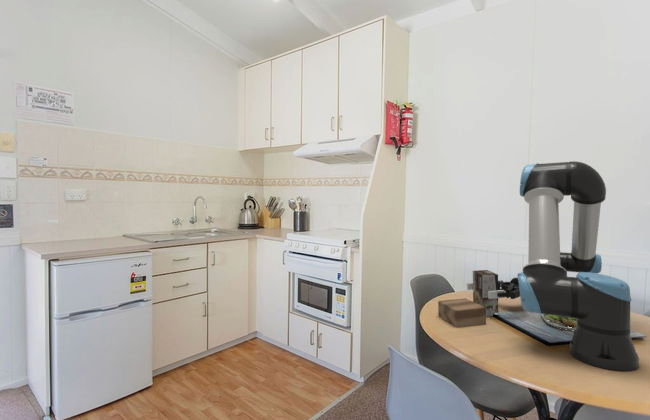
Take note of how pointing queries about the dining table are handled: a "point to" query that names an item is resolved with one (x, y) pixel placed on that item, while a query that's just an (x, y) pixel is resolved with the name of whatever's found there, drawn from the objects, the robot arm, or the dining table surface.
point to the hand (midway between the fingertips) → (477, 290)
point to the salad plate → (560, 321)
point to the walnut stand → (462, 312)
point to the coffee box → (485, 290)
